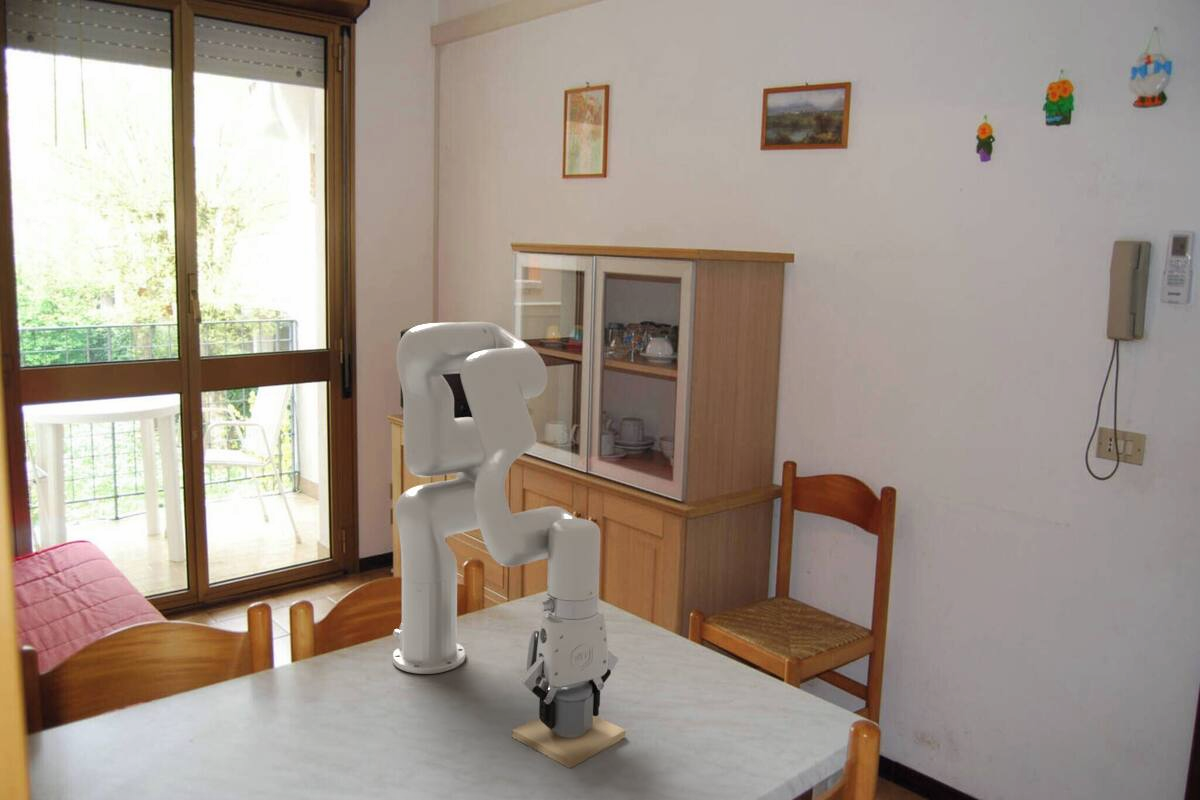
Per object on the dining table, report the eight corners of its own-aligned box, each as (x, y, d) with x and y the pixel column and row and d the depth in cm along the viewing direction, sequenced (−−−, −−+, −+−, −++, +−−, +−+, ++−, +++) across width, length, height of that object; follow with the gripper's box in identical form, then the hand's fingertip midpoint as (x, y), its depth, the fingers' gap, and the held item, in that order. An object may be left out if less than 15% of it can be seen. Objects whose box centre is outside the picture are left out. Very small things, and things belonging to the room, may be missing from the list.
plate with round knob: (511, 737, 137) (512, 695, 136) (567, 709, 146) (568, 670, 145) (570, 768, 129) (571, 723, 128) (625, 737, 138) (627, 695, 137)
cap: (595, 732, 135) (597, 694, 134) (553, 736, 134) (554, 699, 133) (584, 711, 141) (586, 675, 140) (544, 715, 140) (544, 679, 139)
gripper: (532, 623, 127) (530, 744, 130) (636, 602, 136) (632, 715, 139) (507, 606, 133) (505, 721, 136) (608, 586, 142) (604, 695, 145)
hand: (569, 717), depth 137 cm, fingers closed on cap, 6 cm apart
